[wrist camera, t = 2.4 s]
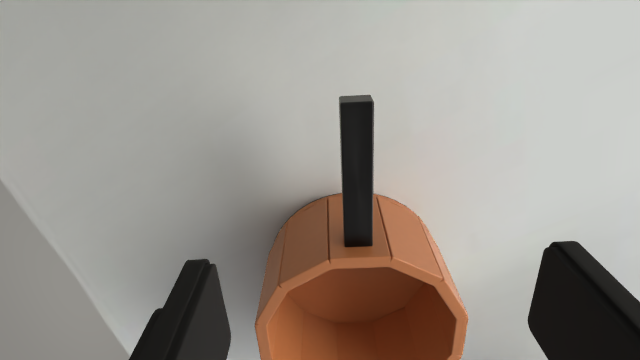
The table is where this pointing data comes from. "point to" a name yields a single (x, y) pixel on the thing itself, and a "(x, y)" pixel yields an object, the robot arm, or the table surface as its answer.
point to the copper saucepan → (358, 272)
